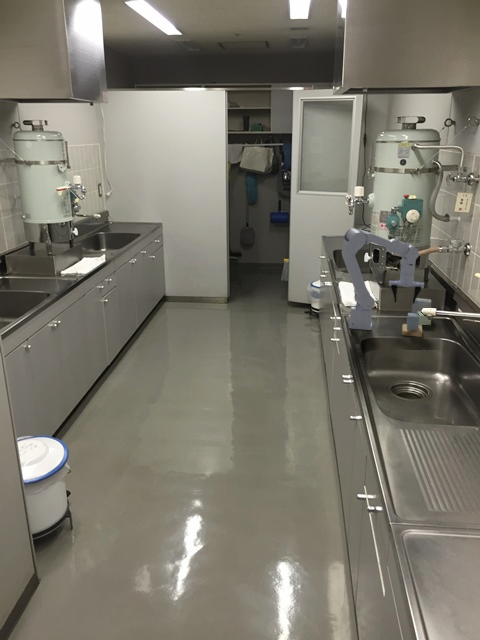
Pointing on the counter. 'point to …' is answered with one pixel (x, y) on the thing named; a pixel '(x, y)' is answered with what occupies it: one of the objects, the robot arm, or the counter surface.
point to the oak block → (412, 331)
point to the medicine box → (420, 304)
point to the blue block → (412, 321)
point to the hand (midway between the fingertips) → (404, 302)
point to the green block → (423, 319)
